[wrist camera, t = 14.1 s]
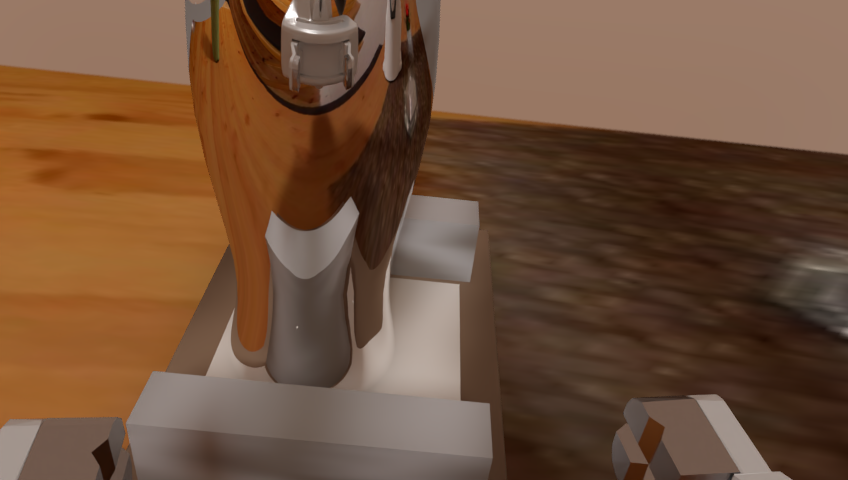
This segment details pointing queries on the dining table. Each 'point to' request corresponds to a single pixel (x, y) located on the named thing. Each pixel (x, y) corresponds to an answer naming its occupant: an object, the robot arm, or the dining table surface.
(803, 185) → the dining table surface
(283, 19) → the beer glass
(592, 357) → the dining table surface
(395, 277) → the rail board
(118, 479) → the robot arm
